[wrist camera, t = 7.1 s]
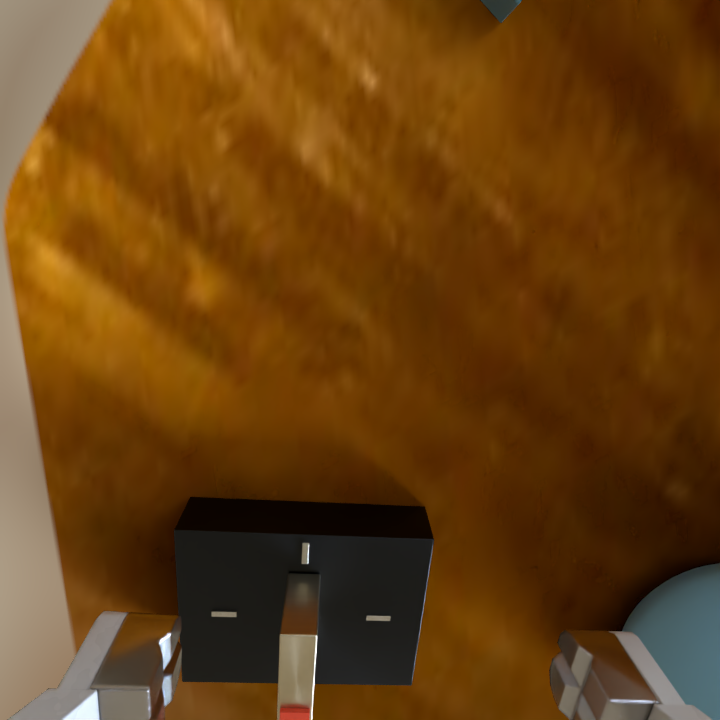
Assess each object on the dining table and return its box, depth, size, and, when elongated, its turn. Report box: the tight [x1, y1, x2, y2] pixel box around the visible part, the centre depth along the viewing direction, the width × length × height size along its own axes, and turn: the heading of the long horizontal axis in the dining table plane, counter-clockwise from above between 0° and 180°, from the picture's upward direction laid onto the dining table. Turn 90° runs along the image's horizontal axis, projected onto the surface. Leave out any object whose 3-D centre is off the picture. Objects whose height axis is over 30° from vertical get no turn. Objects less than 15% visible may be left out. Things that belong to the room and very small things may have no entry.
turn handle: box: [277, 573, 320, 720], centre depth 25 cm, size 6×2×4 cm, turn 176°
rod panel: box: [174, 497, 434, 685], centre depth 29 cm, size 14×11×3 cm
